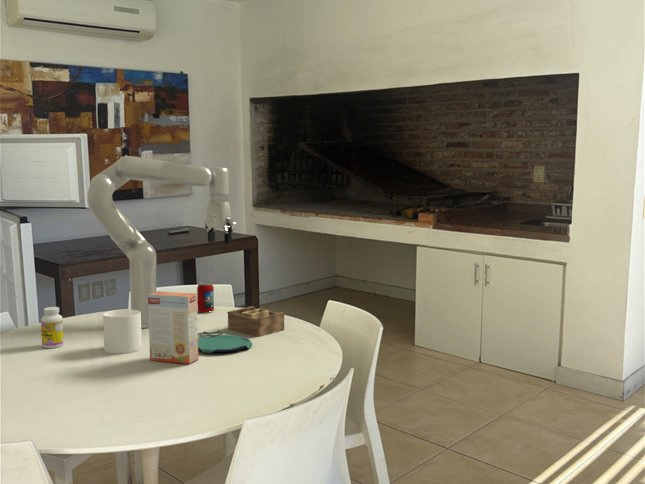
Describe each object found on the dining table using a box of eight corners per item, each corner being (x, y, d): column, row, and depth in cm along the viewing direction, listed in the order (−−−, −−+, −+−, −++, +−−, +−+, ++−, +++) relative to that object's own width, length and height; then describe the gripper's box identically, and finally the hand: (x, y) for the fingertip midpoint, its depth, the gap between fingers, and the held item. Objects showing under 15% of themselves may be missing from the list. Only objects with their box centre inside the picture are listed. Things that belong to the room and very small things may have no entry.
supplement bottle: (37, 347, 206) (35, 309, 204) (53, 342, 212) (52, 305, 210) (52, 349, 203) (50, 311, 201) (68, 344, 209) (66, 307, 207)
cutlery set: (201, 359, 193) (201, 352, 193) (174, 338, 219) (173, 332, 219) (260, 351, 203) (260, 344, 203) (227, 332, 229) (227, 326, 229)
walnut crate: (259, 336, 219) (259, 318, 219) (227, 329, 230) (227, 311, 229) (284, 329, 229) (284, 312, 229) (252, 322, 240) (252, 306, 239)
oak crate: (251, 330, 225) (251, 314, 224) (242, 328, 228) (242, 312, 227) (269, 326, 232) (269, 310, 231) (259, 324, 235) (259, 308, 234)
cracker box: (199, 359, 192) (198, 292, 190) (189, 365, 187) (187, 296, 184) (160, 355, 197) (158, 290, 195) (149, 360, 191) (147, 293, 189)
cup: (149, 346, 207) (148, 311, 205) (124, 355, 196) (123, 318, 195) (122, 342, 212) (120, 308, 210) (96, 351, 201) (95, 315, 200)
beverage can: (210, 313, 256) (209, 285, 255) (195, 313, 257) (194, 284, 256) (216, 310, 263) (216, 282, 261) (201, 309, 264) (200, 281, 263)
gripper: (197, 198, 246) (198, 241, 247) (226, 199, 235) (227, 245, 236) (211, 198, 251) (212, 240, 253) (241, 199, 240) (241, 243, 242)
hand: (219, 242), depth 245 cm, fingers open, 9 cm apart
